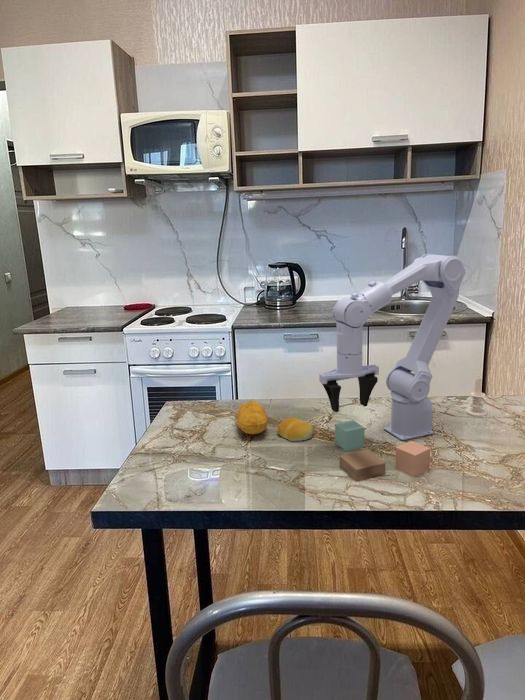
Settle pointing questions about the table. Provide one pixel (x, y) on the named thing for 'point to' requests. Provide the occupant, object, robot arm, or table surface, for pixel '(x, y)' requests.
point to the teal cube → (349, 435)
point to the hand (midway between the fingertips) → (349, 407)
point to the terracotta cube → (412, 458)
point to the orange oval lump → (251, 418)
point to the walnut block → (362, 465)
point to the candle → (477, 401)
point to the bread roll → (295, 429)
